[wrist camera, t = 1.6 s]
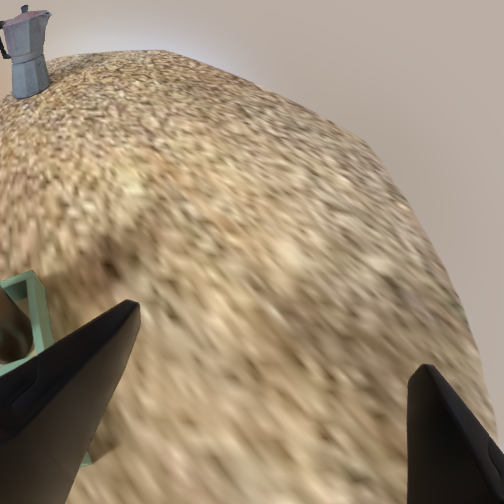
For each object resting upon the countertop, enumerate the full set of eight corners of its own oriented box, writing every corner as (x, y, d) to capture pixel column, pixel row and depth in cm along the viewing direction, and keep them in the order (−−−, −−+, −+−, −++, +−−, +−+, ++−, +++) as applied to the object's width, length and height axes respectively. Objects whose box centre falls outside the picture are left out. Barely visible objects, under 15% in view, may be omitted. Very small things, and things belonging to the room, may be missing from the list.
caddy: (93, 464, 16) (79, 463, 14) (9, 480, 13) (-10, 479, 11) (44, 286, 24) (32, 269, 22) (-23, 311, 21) (-38, 296, 19)
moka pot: (50, 95, 45) (39, 2, 30) (-7, 106, 43) (-23, 24, 27) (68, 76, 51) (62, -7, 35) (13, 86, 48) (2, 11, 32)
